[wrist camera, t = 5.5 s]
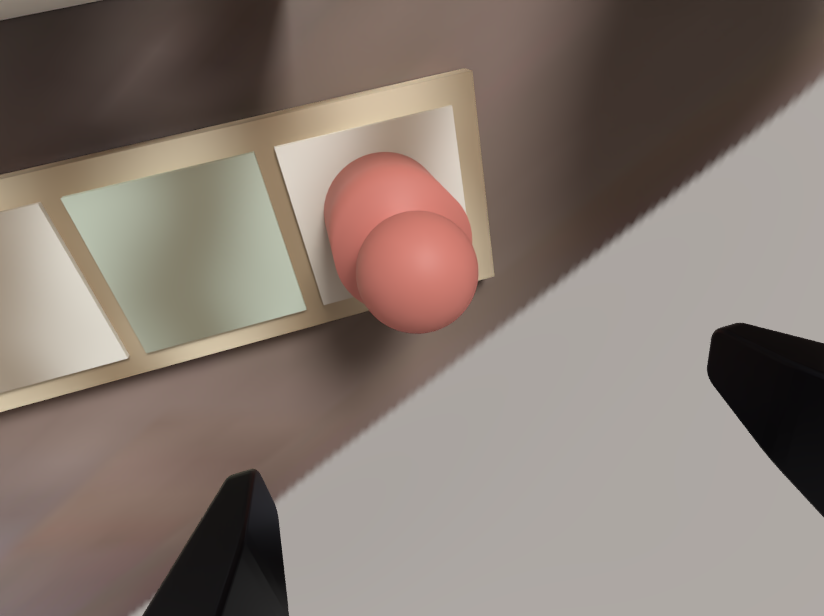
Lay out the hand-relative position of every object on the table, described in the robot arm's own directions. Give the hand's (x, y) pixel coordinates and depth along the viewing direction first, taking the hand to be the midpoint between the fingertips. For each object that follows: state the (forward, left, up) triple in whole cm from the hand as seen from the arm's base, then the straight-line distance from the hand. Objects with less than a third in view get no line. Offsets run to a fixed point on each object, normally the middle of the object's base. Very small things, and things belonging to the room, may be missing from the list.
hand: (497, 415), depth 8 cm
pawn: (0, 0, -10) cm, 10 cm away
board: (+9, 0, -11) cm, 14 cm away
